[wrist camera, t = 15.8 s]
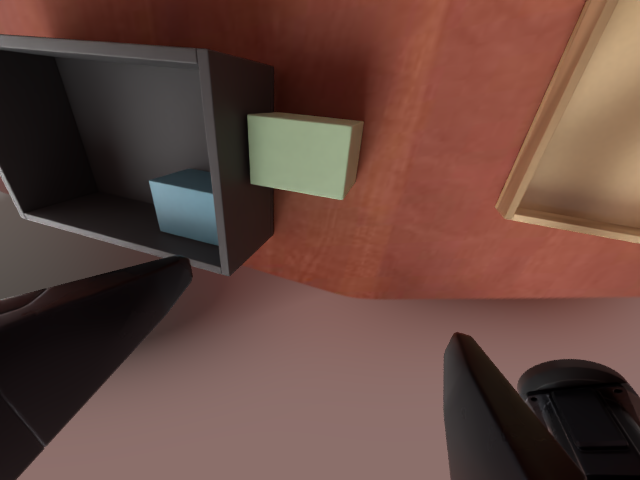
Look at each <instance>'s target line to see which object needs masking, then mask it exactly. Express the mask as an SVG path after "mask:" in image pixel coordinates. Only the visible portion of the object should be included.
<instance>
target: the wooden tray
mask: <svg viewBox="0 0 640 480" xmlns="http://www.w3.org/2000/svg"><path fill="white" fill-rule="evenodd" d="M495 208H496V209H497V210H498V212H499V213H500V214H501V215H502V217H503V218H504V219H508V220H514V221H519V222H525V223H530V224H536V225H541V226H546V227H552V228H557V229H563V230H568V231H574V232H579V233H584V234H590V235H595V236H601V237H606V238H612V239H617V240H623V241H628V242H633V243H639V244H640V0H587V1H586V3H585V5H584V8H583V10H582V12H581V14H580V17H579V19H578V21H577V23H576V26H575V28H574V30H573V32H572V35H571V37H570V39H569V41H568V44H567V46H566V48H565V50H564V53H563V55H562V57H561V59H560V62H559V64H558V66H557V68H556V71H555V73H554V75H553V77H552V80H551V82H550V84H549V86H548V89H547V91H546V93H545V95H544V98H543V100H542V102H541V104H540V107H539V109H538V111H537V113H536V116H535V118H534V120H533V122H532V125H531V127H530V129H529V131H528V134H527V136H526V138H525V140H524V143H523V145H522V147H521V149H520V152H519V154H518V156H517V158H516V161H515V163H514V165H513V167H512V170H511V172H510V174H509V176H508V179H507V181H506V183H505V185H504V188H503V190H502V192H501V194H500V197H499V199H498V201H497V203H496V206H495Z"/></svg>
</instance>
